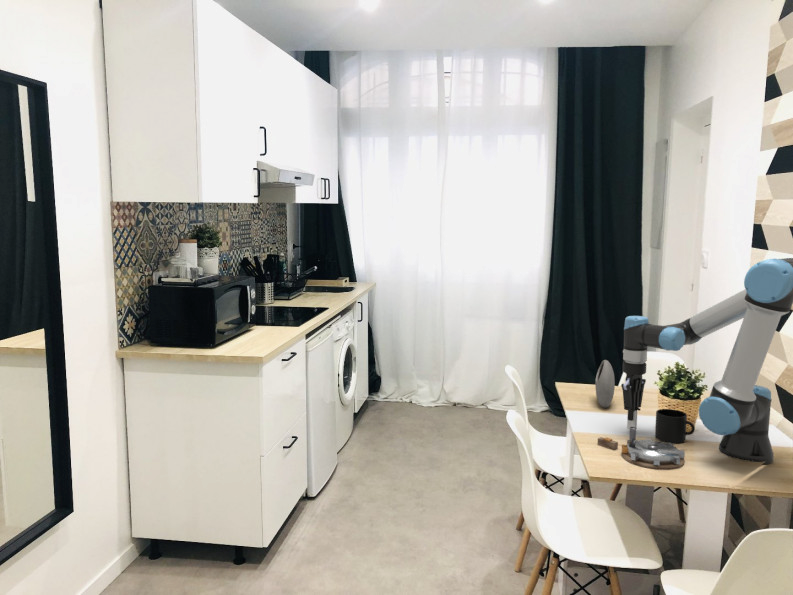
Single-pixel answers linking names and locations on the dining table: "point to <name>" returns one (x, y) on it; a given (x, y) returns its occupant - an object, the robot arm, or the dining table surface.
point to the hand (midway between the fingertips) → (631, 428)
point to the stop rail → (608, 443)
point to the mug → (671, 426)
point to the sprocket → (651, 450)
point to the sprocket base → (651, 465)
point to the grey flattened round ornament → (605, 384)
